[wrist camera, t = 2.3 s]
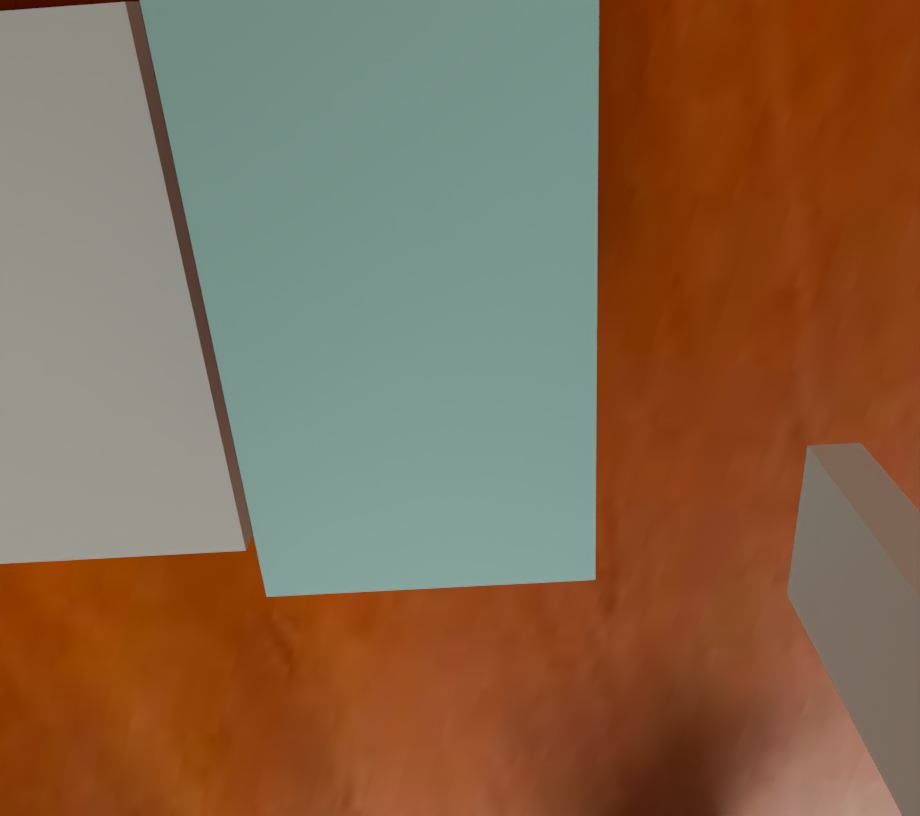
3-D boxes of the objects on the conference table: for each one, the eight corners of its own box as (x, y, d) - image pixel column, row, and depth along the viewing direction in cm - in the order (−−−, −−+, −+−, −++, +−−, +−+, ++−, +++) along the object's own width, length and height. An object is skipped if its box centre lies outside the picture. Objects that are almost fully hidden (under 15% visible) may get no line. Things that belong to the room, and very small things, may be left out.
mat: (-30, 548, 35) (-45, 566, 34) (-237, 29, 26) (-267, 30, 25) (252, 533, 35) (246, 550, 34) (138, 0, 26) (125, 1, 25)
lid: (276, 564, 27) (266, 596, 26) (157, -29, 19) (132, -30, 18) (588, 548, 27) (595, 579, 25) (589, -62, 19) (599, -66, 18)
